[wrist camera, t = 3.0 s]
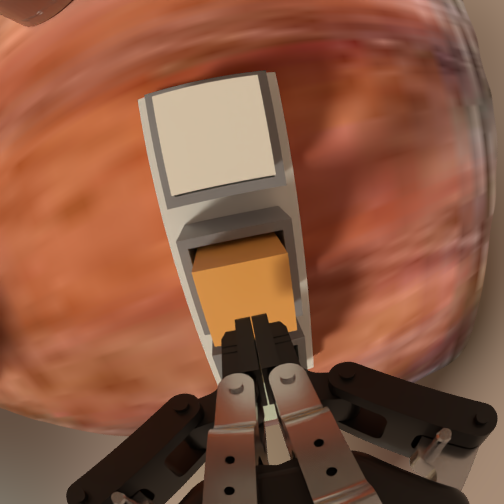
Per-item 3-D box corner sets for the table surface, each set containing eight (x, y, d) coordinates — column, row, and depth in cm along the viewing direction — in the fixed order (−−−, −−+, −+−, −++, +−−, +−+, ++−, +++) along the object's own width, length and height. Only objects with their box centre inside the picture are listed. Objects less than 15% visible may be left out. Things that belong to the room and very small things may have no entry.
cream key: (170, 111, 15) (151, 96, 11) (247, 95, 15) (257, 74, 11) (185, 184, 17) (171, 196, 12) (261, 169, 17) (276, 174, 12)
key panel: (143, 103, 17) (118, 88, 12) (271, 77, 18) (287, 53, 13) (218, 377, 27) (219, 416, 22) (309, 358, 27) (324, 394, 22)
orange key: (198, 242, 18) (191, 272, 14) (271, 227, 19) (287, 252, 14) (215, 304, 20) (214, 346, 16) (280, 291, 20) (297, 329, 16)
